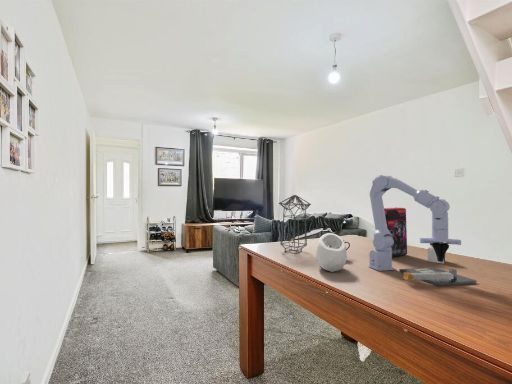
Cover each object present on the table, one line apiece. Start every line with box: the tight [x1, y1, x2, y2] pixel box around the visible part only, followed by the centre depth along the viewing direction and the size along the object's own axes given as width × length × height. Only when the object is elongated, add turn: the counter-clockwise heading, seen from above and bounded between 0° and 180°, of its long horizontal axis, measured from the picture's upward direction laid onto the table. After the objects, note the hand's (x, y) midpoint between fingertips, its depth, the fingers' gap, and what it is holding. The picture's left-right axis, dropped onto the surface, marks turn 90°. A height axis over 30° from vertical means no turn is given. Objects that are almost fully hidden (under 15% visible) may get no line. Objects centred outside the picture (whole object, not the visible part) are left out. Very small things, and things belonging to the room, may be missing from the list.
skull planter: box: [315, 232, 348, 273], centre depth 135 cm, size 14×20×19 cm
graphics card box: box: [384, 207, 408, 258], centre depth 163 cm, size 17×7×27 cm, turn 119°
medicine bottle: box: [427, 242, 446, 264], centre depth 149 cm, size 7×7×12 cm
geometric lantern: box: [278, 194, 312, 255], centre depth 173 cm, size 16×16×35 cm
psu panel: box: [398, 266, 477, 288], centre depth 121 cm, size 18×21×2 cm
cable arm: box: [403, 268, 458, 282], centre depth 112 cm, size 21×3×4 cm, turn 94°
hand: (440, 261), depth 118 cm, fingers closed
